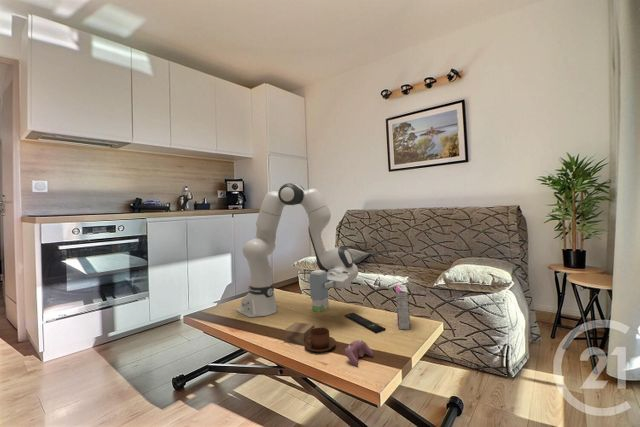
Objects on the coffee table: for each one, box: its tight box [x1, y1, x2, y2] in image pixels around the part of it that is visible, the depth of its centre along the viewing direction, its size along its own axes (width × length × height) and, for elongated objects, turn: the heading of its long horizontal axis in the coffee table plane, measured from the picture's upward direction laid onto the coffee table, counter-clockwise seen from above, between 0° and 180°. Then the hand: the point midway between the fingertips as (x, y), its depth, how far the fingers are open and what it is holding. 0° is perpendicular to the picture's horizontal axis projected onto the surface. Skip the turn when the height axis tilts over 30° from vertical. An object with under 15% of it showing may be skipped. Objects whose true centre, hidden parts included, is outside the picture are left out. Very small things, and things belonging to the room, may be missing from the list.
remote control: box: [344, 312, 387, 334], centre depth 139 cm, size 5×24×1 cm, turn 29°
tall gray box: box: [309, 269, 329, 301], centre depth 135 cm, size 6×6×12 cm
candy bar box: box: [395, 284, 411, 330], centre depth 135 cm, size 11×5×16 cm, turn 168°
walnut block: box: [283, 321, 315, 346], centre depth 126 cm, size 9×9×5 cm
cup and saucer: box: [304, 327, 337, 353], centre depth 118 cm, size 12×12×6 cm
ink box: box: [311, 296, 329, 313], centre depth 160 cm, size 9×5×15 cm, turn 149°
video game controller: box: [344, 339, 374, 367], centre depth 107 cm, size 10×5×7 cm, turn 134°
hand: (317, 284), depth 134 cm, fingers closed on tall gray box, 5 cm apart
